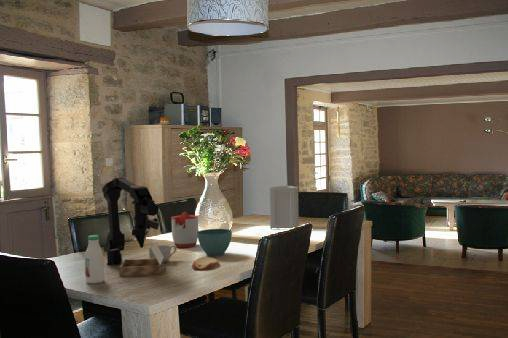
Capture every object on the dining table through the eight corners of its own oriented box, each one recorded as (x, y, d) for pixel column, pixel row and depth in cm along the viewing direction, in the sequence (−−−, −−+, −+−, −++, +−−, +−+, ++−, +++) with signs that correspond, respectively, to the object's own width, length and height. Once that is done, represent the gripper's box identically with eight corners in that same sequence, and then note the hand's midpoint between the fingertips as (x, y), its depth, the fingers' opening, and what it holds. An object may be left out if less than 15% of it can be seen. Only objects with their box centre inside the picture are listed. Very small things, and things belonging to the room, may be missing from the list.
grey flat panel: (150, 247, 243) (151, 246, 243) (154, 241, 258) (155, 240, 258) (159, 264, 244) (160, 264, 244) (162, 257, 259) (163, 257, 259)
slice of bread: (208, 260, 273) (208, 253, 272) (230, 266, 259) (230, 258, 259) (178, 266, 261) (178, 258, 261) (199, 272, 247) (199, 264, 247)
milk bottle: (106, 279, 237) (104, 234, 236) (101, 283, 230) (100, 237, 229) (88, 279, 237) (86, 234, 236) (83, 284, 230) (81, 237, 229)
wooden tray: (119, 276, 242) (119, 267, 242) (125, 267, 258) (124, 259, 258) (159, 274, 244) (159, 265, 243) (163, 266, 259) (162, 258, 259)
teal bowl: (227, 258, 274) (226, 234, 273) (193, 258, 277) (192, 234, 277) (235, 251, 291) (235, 228, 291) (203, 250, 295) (202, 228, 294)
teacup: (149, 265, 263) (149, 248, 263) (148, 260, 274) (147, 244, 273) (178, 262, 267) (178, 246, 267) (175, 258, 277) (175, 242, 277)
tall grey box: (303, 226, 370) (302, 186, 368) (296, 230, 356) (296, 187, 355) (277, 225, 377) (276, 185, 376) (269, 229, 363) (268, 187, 362)
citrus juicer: (166, 249, 302) (165, 213, 301) (177, 243, 319) (176, 209, 318) (192, 249, 299) (191, 213, 298) (203, 243, 315) (202, 209, 314)
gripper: (156, 216, 241) (157, 250, 242) (160, 211, 259) (161, 243, 260) (131, 217, 240) (132, 251, 241) (136, 211, 259) (138, 244, 259)
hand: (141, 247), depth 250 cm, fingers closed
